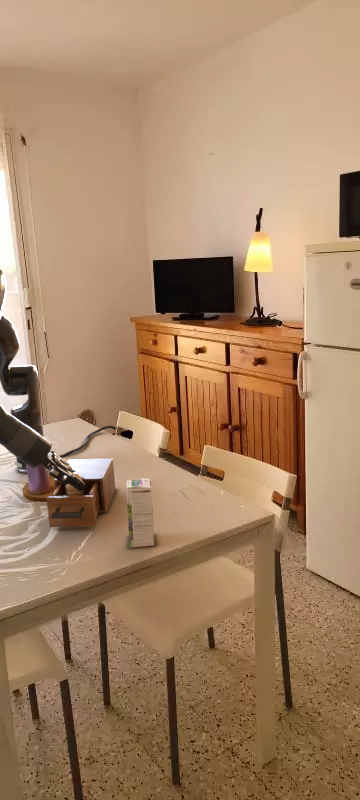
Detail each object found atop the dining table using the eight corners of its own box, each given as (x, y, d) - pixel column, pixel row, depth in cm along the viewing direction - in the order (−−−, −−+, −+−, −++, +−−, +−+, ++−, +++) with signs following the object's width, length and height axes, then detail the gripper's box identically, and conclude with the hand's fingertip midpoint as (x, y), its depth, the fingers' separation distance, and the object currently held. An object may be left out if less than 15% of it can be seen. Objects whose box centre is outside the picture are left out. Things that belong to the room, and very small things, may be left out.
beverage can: (45, 494, 174) (39, 444, 170) (25, 494, 175) (19, 444, 171) (53, 486, 179) (48, 437, 176) (34, 486, 181) (28, 437, 177)
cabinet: (105, 513, 159) (102, 478, 157) (57, 514, 160) (54, 479, 158) (115, 490, 174) (112, 458, 172) (71, 491, 175) (68, 459, 173)
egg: (68, 497, 157) (65, 470, 155) (87, 496, 156) (84, 469, 155) (64, 504, 152) (61, 476, 150) (83, 504, 152) (80, 476, 150)
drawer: (91, 535, 145) (88, 504, 143) (44, 536, 146) (40, 505, 144) (106, 502, 164) (103, 475, 162) (64, 503, 165) (61, 476, 163)
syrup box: (129, 537, 145) (125, 479, 142) (154, 534, 146) (150, 477, 142) (129, 548, 140) (125, 488, 136) (155, 546, 140) (151, 486, 137)
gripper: (38, 441, 141) (95, 483, 147) (36, 425, 155) (88, 464, 161) (17, 466, 141) (75, 507, 147) (17, 448, 155) (70, 486, 160)
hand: (82, 484), depth 154 cm, fingers closed on egg, 4 cm apart
